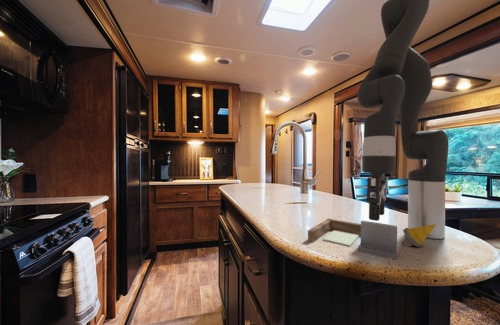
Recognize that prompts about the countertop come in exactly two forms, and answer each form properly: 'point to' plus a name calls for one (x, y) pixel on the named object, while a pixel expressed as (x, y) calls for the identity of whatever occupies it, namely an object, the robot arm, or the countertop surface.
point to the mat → (341, 237)
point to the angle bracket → (378, 239)
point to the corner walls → (332, 224)
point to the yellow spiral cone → (417, 235)
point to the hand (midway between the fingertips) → (376, 217)
